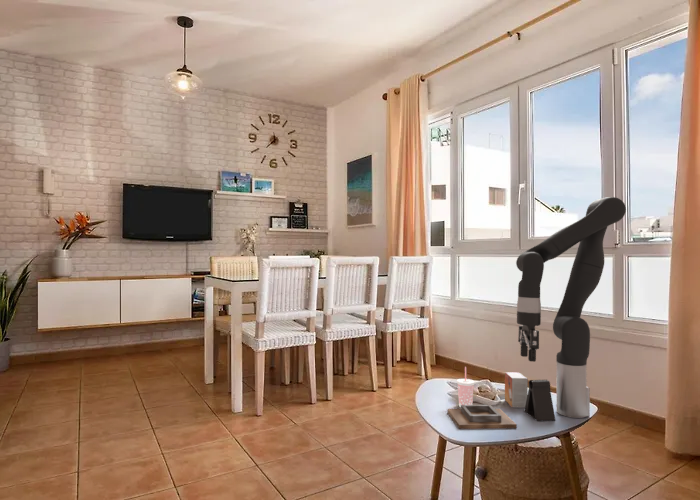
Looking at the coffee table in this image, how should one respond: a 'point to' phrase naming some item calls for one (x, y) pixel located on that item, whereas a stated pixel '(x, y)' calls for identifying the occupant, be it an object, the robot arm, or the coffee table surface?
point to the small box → (516, 389)
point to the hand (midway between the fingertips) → (527, 358)
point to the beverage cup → (465, 391)
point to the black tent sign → (540, 401)
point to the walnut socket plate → (480, 417)
